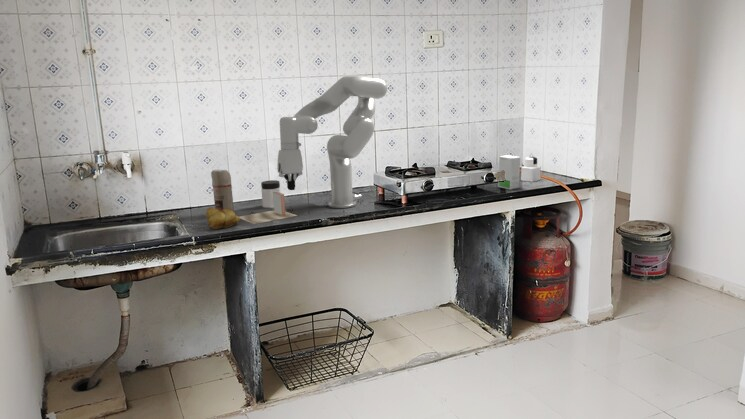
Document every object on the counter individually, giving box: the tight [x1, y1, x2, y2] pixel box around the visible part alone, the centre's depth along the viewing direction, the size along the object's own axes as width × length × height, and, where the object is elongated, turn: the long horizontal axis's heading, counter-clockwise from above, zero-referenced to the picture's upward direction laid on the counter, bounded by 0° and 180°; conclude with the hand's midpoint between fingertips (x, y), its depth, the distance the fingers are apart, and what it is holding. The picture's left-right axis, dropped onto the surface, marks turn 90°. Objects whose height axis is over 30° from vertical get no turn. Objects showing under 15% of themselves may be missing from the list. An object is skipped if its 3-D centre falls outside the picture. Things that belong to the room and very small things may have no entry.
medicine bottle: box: [520, 156, 541, 183], centre depth 319 cm, size 7×7×12 cm
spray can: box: [210, 168, 235, 213], centre depth 267 cm, size 8×8×20 cm
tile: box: [273, 192, 286, 216], centre depth 260 cm, size 2×7×9 cm, turn 36°
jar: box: [260, 179, 281, 209], centre depth 277 cm, size 9×8×12 cm
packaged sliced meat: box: [238, 209, 298, 225], centre depth 258 cm, size 20×16×1 cm
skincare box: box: [497, 154, 521, 190], centre depth 302 cm, size 8×7×16 cm
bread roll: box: [205, 207, 241, 230], centre depth 248 cm, size 13×10×8 cm
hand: (291, 189), depth 263 cm, fingers closed
